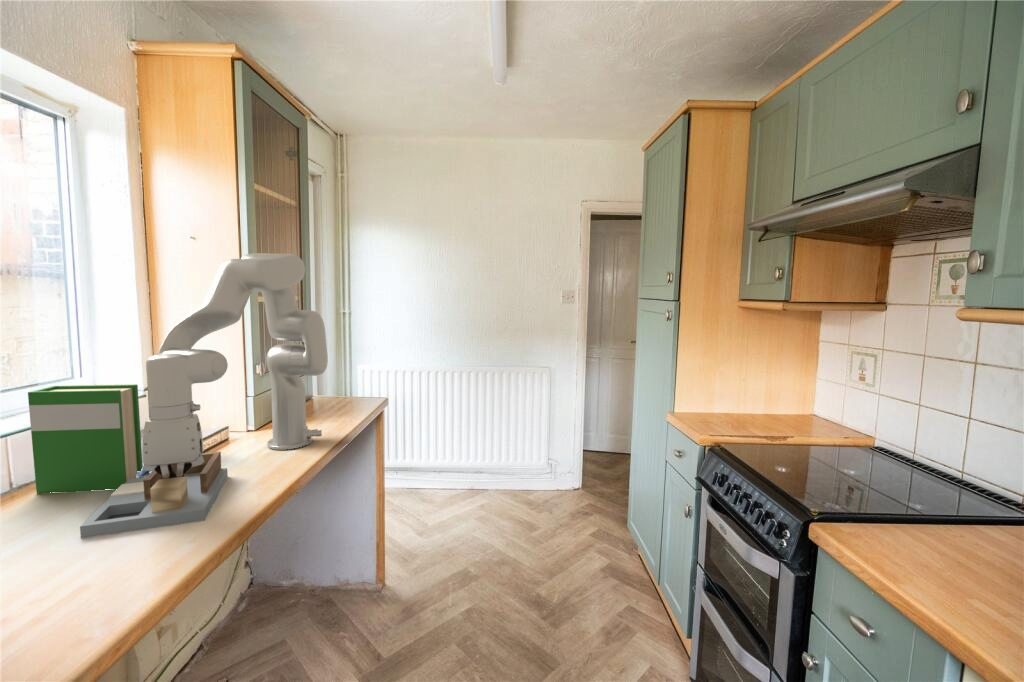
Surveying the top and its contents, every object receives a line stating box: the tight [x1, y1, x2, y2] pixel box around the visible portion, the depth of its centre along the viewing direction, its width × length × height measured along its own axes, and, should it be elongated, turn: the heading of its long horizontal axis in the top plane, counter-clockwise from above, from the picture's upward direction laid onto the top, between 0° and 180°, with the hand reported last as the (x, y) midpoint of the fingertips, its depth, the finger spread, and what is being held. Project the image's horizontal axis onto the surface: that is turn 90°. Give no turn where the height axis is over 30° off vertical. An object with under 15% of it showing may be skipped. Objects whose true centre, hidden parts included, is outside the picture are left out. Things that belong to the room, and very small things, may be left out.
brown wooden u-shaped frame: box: [143, 451, 222, 500], centre depth 105 cm, size 11×15×4 cm
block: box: [150, 476, 188, 512], centre depth 94 cm, size 5×5×5 cm
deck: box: [79, 467, 228, 539], centre depth 101 cm, size 20×24×3 cm
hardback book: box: [27, 384, 144, 495], centre depth 108 cm, size 18×7×24 cm, turn 101°
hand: (175, 492), depth 98 cm, fingers closed
